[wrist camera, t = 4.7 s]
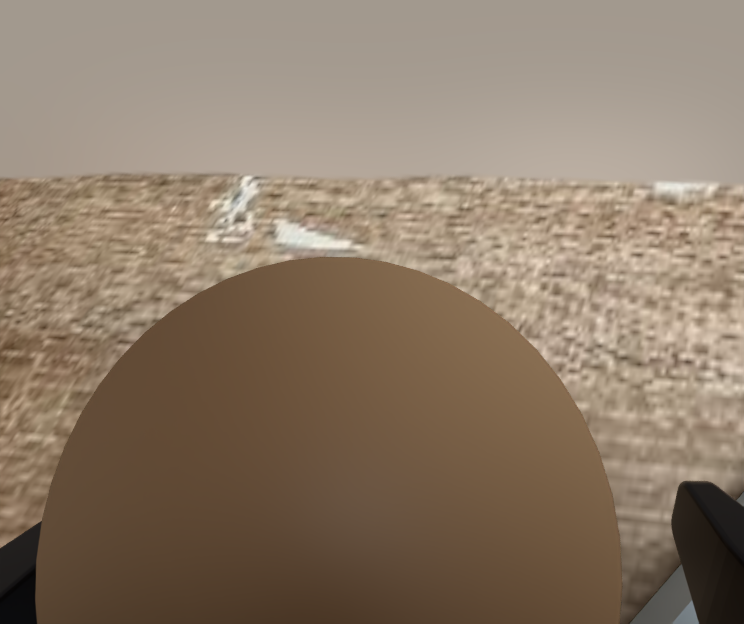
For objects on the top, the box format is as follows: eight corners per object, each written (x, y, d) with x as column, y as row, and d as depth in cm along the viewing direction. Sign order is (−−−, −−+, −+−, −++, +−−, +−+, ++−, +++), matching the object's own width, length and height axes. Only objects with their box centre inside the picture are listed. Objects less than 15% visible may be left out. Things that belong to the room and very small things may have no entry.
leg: (422, 617, 15) (276, 1121, 3) (320, 498, 17) (-57, 518, 4) (529, 503, 16) (766, 542, 4) (420, 396, 17) (326, 166, 5)
